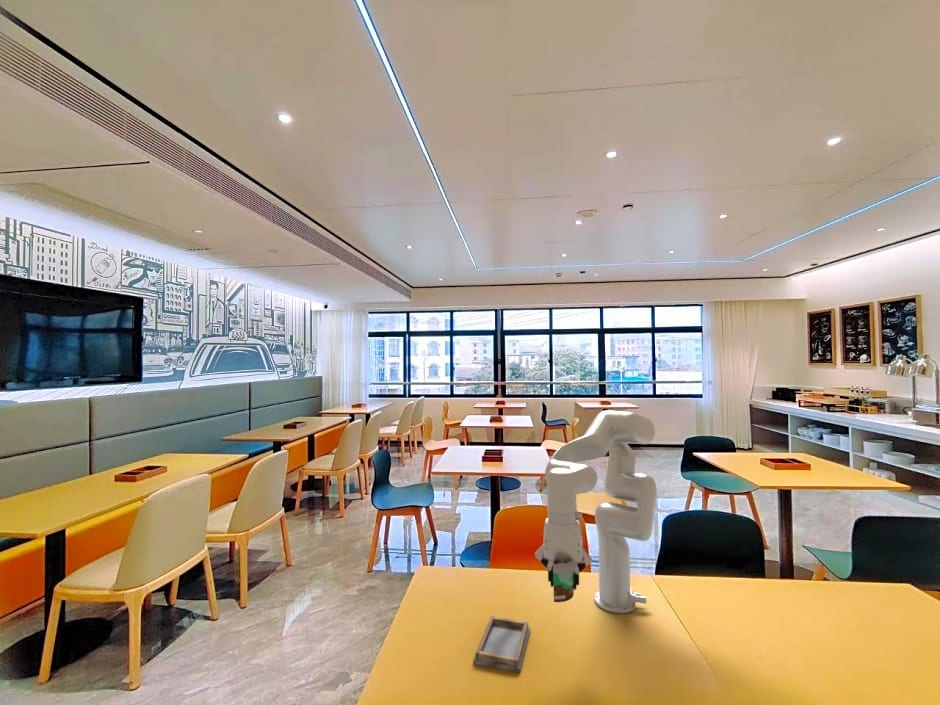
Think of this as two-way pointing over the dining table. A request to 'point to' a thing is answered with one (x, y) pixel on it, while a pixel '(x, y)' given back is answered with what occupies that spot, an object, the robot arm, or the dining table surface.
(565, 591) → the food container
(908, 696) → the dining table surface
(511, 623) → the board
